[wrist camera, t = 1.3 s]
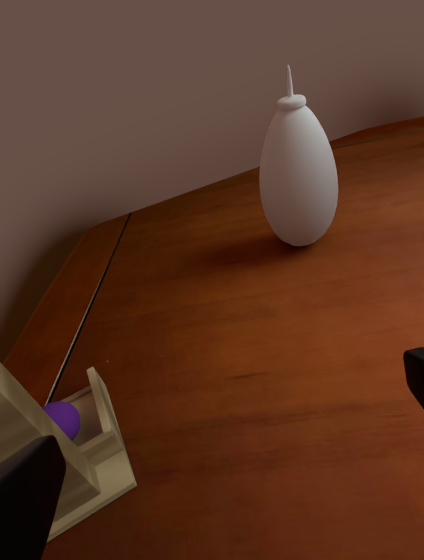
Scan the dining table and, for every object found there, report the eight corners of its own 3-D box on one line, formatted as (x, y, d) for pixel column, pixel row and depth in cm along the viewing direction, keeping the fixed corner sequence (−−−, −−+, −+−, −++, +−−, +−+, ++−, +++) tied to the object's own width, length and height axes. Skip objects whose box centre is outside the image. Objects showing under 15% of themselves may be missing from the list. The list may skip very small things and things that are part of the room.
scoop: (137, 485, 23) (37, 362, 15) (26, 555, 21) (-147, 454, 14) (105, 385, 30) (28, 268, 23) (21, 430, 28) (-93, 320, 21)
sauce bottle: (348, 252, 37) (351, 55, 26) (275, 267, 38) (249, 82, 27) (325, 218, 43) (319, 49, 33) (262, 232, 44) (237, 71, 33)
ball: (75, 454, 26) (60, 455, 23) (34, 441, 26) (15, 441, 23) (92, 409, 27) (80, 406, 24) (53, 398, 27) (37, 393, 25)
